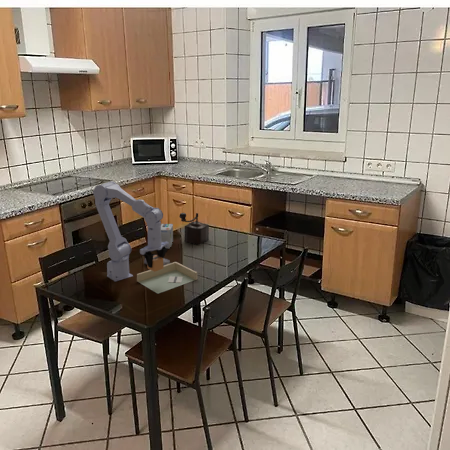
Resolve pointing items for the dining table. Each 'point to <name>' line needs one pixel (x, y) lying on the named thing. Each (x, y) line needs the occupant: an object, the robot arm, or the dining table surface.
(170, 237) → the light bulb box
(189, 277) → the tray
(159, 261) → the cube
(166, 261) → the stone block
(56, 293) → the dining table surface
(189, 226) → the pepper mill
